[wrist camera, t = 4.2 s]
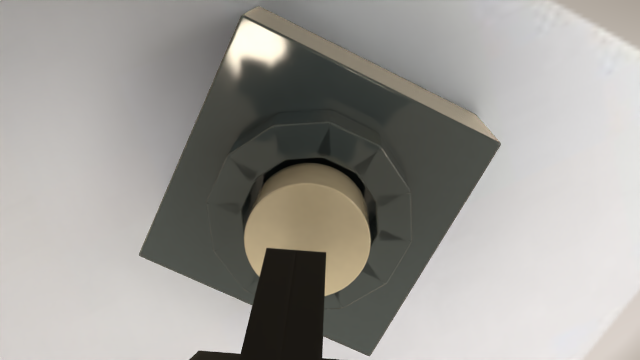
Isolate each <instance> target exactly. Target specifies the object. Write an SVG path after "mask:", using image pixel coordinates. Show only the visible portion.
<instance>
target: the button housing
mask: <svg viewBox="0 0 640 360" xmlns="http://www.w3.org/2000/svg"><path fill="white" fill-rule="evenodd" d="M500 145H501V143H500V142H499V141H498V139H497V138H496V137H495V136H494V135H493V134H492V132H491V131H490V130H489V129H488V128H487V127H486V126H485V124H484V123H483V122H482V121H481V120H480V119H479V117H478V116H477V115H476V114H474V113H472V112H470V111H468V110H466V109H464V108H462V107H460V106H458V105H456V104H454V103H452V102H450V101H448V100H446V99H444V98H442V97H440V96H438V95H436V94H434V93H432V92H430V91H428V90H426V89H424V88H422V87H420V86H418V85H416V84H414V83H412V82H410V81H408V80H406V79H404V78H402V77H400V76H398V75H396V74H394V73H392V72H390V71H388V70H386V69H384V68H382V67H380V66H378V65H376V64H374V63H372V62H370V61H368V60H366V59H364V58H362V57H360V56H358V55H356V54H354V53H352V52H350V51H348V50H346V49H344V48H342V47H340V46H338V45H336V44H334V43H332V42H330V41H328V40H326V39H324V38H322V37H320V36H318V35H316V34H314V33H312V32H310V31H308V30H306V29H304V28H302V27H300V26H298V25H296V24H294V23H292V22H290V21H288V20H286V19H284V18H282V17H280V16H278V15H276V14H274V13H272V12H270V11H268V10H266V9H264V8H262V7H260V6H257V7H255V8H254V9H252V10H250V11H248V12H246V13H245V14H243V15H242V16H241V17H240V19H239V22H238V24H237V26H236V29H235V31H234V33H233V36H232V38H231V40H230V43H229V45H228V47H227V50H226V52H225V54H224V57H223V59H222V61H221V64H220V66H219V68H218V71H217V73H216V75H215V78H214V80H213V82H212V85H211V87H210V89H209V92H208V94H207V96H206V99H205V101H204V103H203V106H202V108H201V110H200V113H199V115H198V117H197V120H196V122H195V124H194V127H193V129H192V131H191V134H190V136H189V138H188V141H187V143H186V145H185V148H184V150H183V152H182V155H181V157H180V159H179V162H178V164H177V166H176V169H175V171H174V173H173V176H172V178H171V180H170V183H169V185H168V187H167V190H166V192H165V194H164V197H163V199H162V202H161V204H160V206H159V209H158V211H157V213H156V216H155V218H154V220H153V223H152V225H151V227H150V230H149V232H148V234H147V237H146V239H145V241H144V244H143V246H142V248H141V251H140V253H139V256H141V257H143V258H145V259H148V260H150V261H152V262H154V263H157V264H159V265H161V266H164V267H166V268H168V269H171V270H173V271H175V272H177V273H180V274H182V275H184V276H187V277H189V278H191V279H193V280H196V281H198V282H200V283H203V284H205V285H207V286H209V287H212V288H214V289H216V290H219V291H221V292H223V293H225V294H228V295H230V296H232V297H235V298H237V299H239V300H241V301H244V302H246V303H248V304H251V305H253V301H254V297H255V293H256V289H257V285H258V281H259V276H258V275H257V274H256V272H255V271H254V269H253V268H252V266H251V264H250V262H249V260H248V258H247V255H246V252H245V246H244V231H245V227H246V223H247V220H248V217H249V214H250V212H251V209H252V206H253V203H254V201H255V198H256V196H257V193H258V192H259V190H260V188H261V187H262V185H263V184H264V183H265V182H266V181H267V180H268V179H269V178H270V177H271V176H272V175H273V174H275V173H276V172H278V171H280V170H281V169H283V168H286V167H288V166H291V165H295V164H301V163H317V164H323V165H327V166H330V167H333V168H335V169H337V170H339V171H341V172H343V173H344V174H345V175H347V176H348V177H349V178H350V179H351V180H352V181H354V182H355V184H356V185H357V186H358V187H359V189H360V191H361V192H362V194H363V196H364V198H365V201H366V204H367V208H368V217H369V227H370V237H371V247H370V253H369V257H368V260H367V262H366V264H365V266H364V268H363V270H362V271H361V273H360V274H359V275H358V276H357V278H356V279H355V280H354V281H353V282H351V283H350V284H349V285H348V286H346V287H345V288H343V289H342V290H340V291H338V292H336V293H333V294H330V295H327V296H325V297H324V322H323V336H324V337H326V338H329V339H331V340H333V341H335V342H338V343H340V344H342V345H345V346H347V347H349V348H351V349H354V350H356V351H358V352H361V353H363V354H365V355H367V356H370V355H371V354H372V352H373V351H374V349H375V347H376V346H377V344H378V343H379V341H380V339H381V338H382V336H383V334H384V333H385V331H386V330H387V328H388V326H389V325H390V323H391V322H392V320H393V318H394V317H395V315H396V313H397V312H398V310H399V309H400V307H401V305H402V304H403V302H404V301H405V299H406V297H407V296H408V294H409V292H410V291H411V289H412V288H413V286H414V284H415V283H416V281H417V280H418V278H419V276H420V275H421V273H422V271H423V270H424V268H425V267H426V265H427V263H428V262H429V260H430V258H431V257H432V255H433V254H434V252H435V250H436V249H437V247H438V246H439V244H440V242H441V241H442V239H443V237H444V236H445V234H446V233H447V231H448V229H449V228H450V226H451V225H452V223H453V221H454V220H455V218H456V216H457V215H458V213H459V212H460V210H461V208H462V207H463V205H464V204H465V202H466V200H467V199H468V197H469V195H470V194H471V192H472V191H473V189H474V187H475V186H476V184H477V183H478V181H479V179H480V178H481V176H482V174H483V173H484V171H485V170H486V168H487V166H488V165H489V163H490V162H491V160H492V158H493V157H494V155H495V153H496V152H497V150H498V149H499V147H500Z"/></svg>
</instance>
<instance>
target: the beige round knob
mask: <svg viewBox="0 0 640 360" xmlns="http://www.w3.org/2000/svg"><path fill="white" fill-rule="evenodd" d="M244 246H245V252H246V255H247V258H248V260H249V262H250V264H251V266H252V268H253V269H254V271H255V272H256V274H257V275H258V276H259V277H260V273H261V269H262V264H263V260H264V256H265V252H266V248H276V249H289V250H303V251H316V252H326V273H325V296H327V295H330V294H333V293H336V292H338V291H340V290H342V289H343V288H345V287H346V286H348V285H349V284H350V283H351V282H353V281H354V280H355V279H356V278H357V276H358V275H359V274H360V273H361V271H362V270H363V268H364V266H365V264H366V262H367V260H368V257H369V253H370V247H371V237H370V227H369V217H368V208H367V204H366V201H365V198H364V196H363V194H362V192H361V191H360V189H359V187H358V186H357V185H356V184H355V182H354V181H352V180H351V179H350V178H349V177H348V176H347V175H345V174H344V173H343V172H341V171H339V170H337V169H335V168H333V167H330V166H327V165H323V164H317V163H301V164H295V165H291V166H288V167H286V168H283V169H281V170H280V171H278V172H276V173H275V174H273V175H272V176H271V177H270V178H269V179H268V180H267V181H266V182H265V183H264V184H263V185H262V187H261V188H260V190H259V192H258V193H257V196H256V198H255V201H254V203H253V206H252V209H251V212H250V214H249V217H248V220H247V223H246V227H245V231H244Z"/></svg>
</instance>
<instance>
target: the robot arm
mask: <svg viewBox="0 0 640 360" xmlns="http://www.w3.org/2000/svg"><path fill="white" fill-rule="evenodd" d="M325 273H326V252H316V251H303V250H289V249H276V248H266V252H265V256H264V260H263V264H262V269H261V273H260V277H259V281H258V285H257V289H256V293H255V297H254V301H253V306H252V310H251V314H250V318H249V322H248V326H247V330H246V334H245V338H244V343H243V347H242V351H241V354H235V353H222V352H209V351H198V352H197V353H196V354H195V355H194V356H193V357H192V358H191V359H190V360H337V359H324V358H322V346H323V322H324V297H325Z"/></svg>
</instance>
